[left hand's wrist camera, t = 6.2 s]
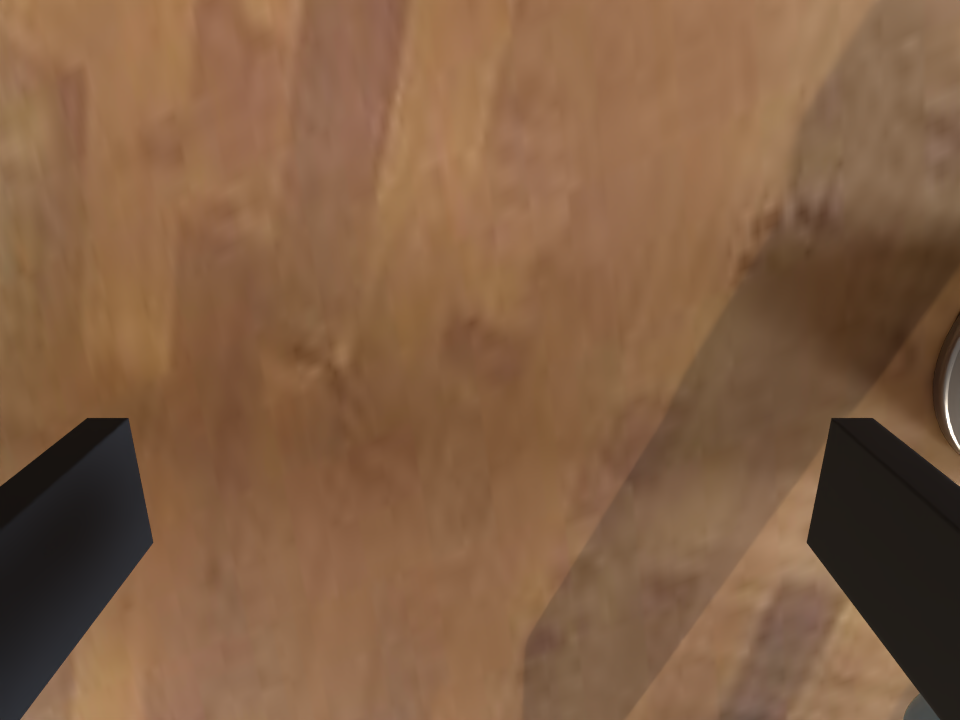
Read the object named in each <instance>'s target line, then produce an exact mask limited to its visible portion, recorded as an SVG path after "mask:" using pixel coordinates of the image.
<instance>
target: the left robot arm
mask: <svg viewBox="0 0 960 720" xmlns="http://www.w3.org/2000/svg"><path fill="white" fill-rule="evenodd" d="M933 401H934V409H935V413H936V418H937V421H938V423H939V426H940V428H941V430H942V432H943V434H944V436H945V438H946V439H947V441H948V442H949V444H950V445H951V446H952V447H953V448H954V450H955V451H956V452H957V453H958V454H959V455H960V315H959V317H958V318H957V320H956V321H955V323H954V324H953V326H952V328H951V330H950V331H949V333H948V335H947V337H946V339H945V342H944V344H943V346H942V348H941V351H940V354H939V357H938V360H937V364H936V369H935V373H934V382H933ZM152 544H153V539H152V534H151V529H150V524H149V519H148V514H147V509H146V504H145V499H144V494H143V489H142V484H141V479H140V474H139V469H138V464H137V459H136V454H135V449H134V444H133V439H132V434H131V429H130V424H129V419H128V418H87V419H86V420H84V421H83V422H82V423H80V424H79V425H78V426H77V427H75V428H74V429H73V430H72V431H70V432H69V433H68V434H67V435H65V436H64V437H63V438H61V439H60V440H59V441H58V442H56V443H55V444H54V445H53V446H51V447H50V448H49V449H47V450H46V451H45V452H44V453H42V454H41V455H40V456H39V457H37V458H36V459H35V460H34V461H32V462H31V463H30V464H28V465H27V466H26V467H25V468H23V469H22V470H21V471H20V472H18V473H17V474H16V475H15V476H13V477H12V478H11V479H9V480H8V481H7V482H6V483H4V484H3V485H2V486H1V487H0V720H20V719H21V718H22V716H23V715H24V714H25V712H26V711H27V710H28V708H29V707H30V706H31V704H32V703H33V702H34V700H35V699H36V698H37V696H38V695H39V694H40V692H41V691H42V690H43V688H44V687H45V686H46V684H47V683H48V682H49V680H50V679H51V678H52V677H53V675H54V674H55V673H56V671H57V670H58V669H59V667H60V666H61V665H62V663H63V662H64V661H65V659H66V658H67V657H68V655H69V654H70V653H71V651H72V650H73V649H74V647H75V646H76V645H77V643H78V642H79V641H80V639H81V638H82V637H83V635H84V634H85V633H86V631H87V630H88V629H89V627H90V626H91V625H92V623H93V622H94V621H95V619H96V618H97V617H98V615H99V614H100V613H101V611H102V610H103V609H104V607H105V606H106V605H107V603H108V602H109V601H110V599H111V598H112V597H113V595H114V594H115V593H116V591H117V590H118V589H119V588H120V586H121V585H122V584H123V582H124V581H125V580H126V578H127V577H128V576H129V574H130V573H131V572H132V570H133V569H134V568H135V566H136V565H137V564H138V562H139V561H140V560H141V558H142V557H143V556H144V554H145V553H146V552H147V550H148V549H149V548H150V546H151V545H152ZM807 544H808V545H809V546H810V548H811V549H812V550H813V552H814V553H815V554H816V556H817V557H818V558H819V560H820V561H821V562H822V564H823V565H824V566H825V568H826V569H827V570H828V572H829V573H830V574H831V576H832V577H833V578H834V580H835V581H836V582H837V584H838V585H839V586H840V588H841V589H842V590H843V592H844V593H845V594H846V595H847V597H848V598H849V599H850V601H851V602H852V603H853V605H854V606H855V607H856V609H857V610H858V611H859V613H860V614H861V615H862V617H863V618H864V619H865V621H866V622H867V623H868V625H869V626H870V627H871V629H872V630H873V631H874V633H875V634H876V635H877V637H878V638H879V639H880V641H881V642H882V643H883V645H884V646H885V647H886V649H887V650H888V651H889V653H890V654H891V655H892V657H893V658H894V659H895V661H896V662H897V663H898V665H899V666H900V667H901V669H902V670H903V671H904V673H905V674H906V675H907V677H908V678H909V679H910V680H911V682H912V683H913V684H914V686H915V687H916V688H917V690H918V691H919V692H920V694H919V695H918V696H917V697H916V698H915V699H914V700H913V701H912V702H911V703H910V705H909V706H908V708H907V710H906V712H905V715H904V718H903V720H960V487H959V486H958V485H957V484H956V483H954V482H953V481H952V480H951V479H949V478H948V477H947V476H945V475H944V474H943V473H942V472H940V471H939V470H938V469H937V468H935V467H934V466H933V465H932V464H930V463H929V462H928V461H926V460H925V459H924V458H923V457H921V456H920V455H919V454H918V453H916V452H915V451H914V450H913V449H911V448H910V447H909V446H907V445H906V444H905V443H904V442H902V441H901V440H900V439H899V438H897V437H896V436H895V435H893V434H892V433H891V432H890V431H888V430H887V429H886V428H885V427H883V426H882V425H881V424H880V423H878V422H877V421H876V420H874V419H873V418H832V419H831V424H830V429H829V434H828V439H827V444H826V449H825V454H824V459H823V464H822V469H821V474H820V479H819V484H818V489H817V494H816V499H815V504H814V509H813V514H812V519H811V524H810V529H809V534H808V539H807Z"/></svg>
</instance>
